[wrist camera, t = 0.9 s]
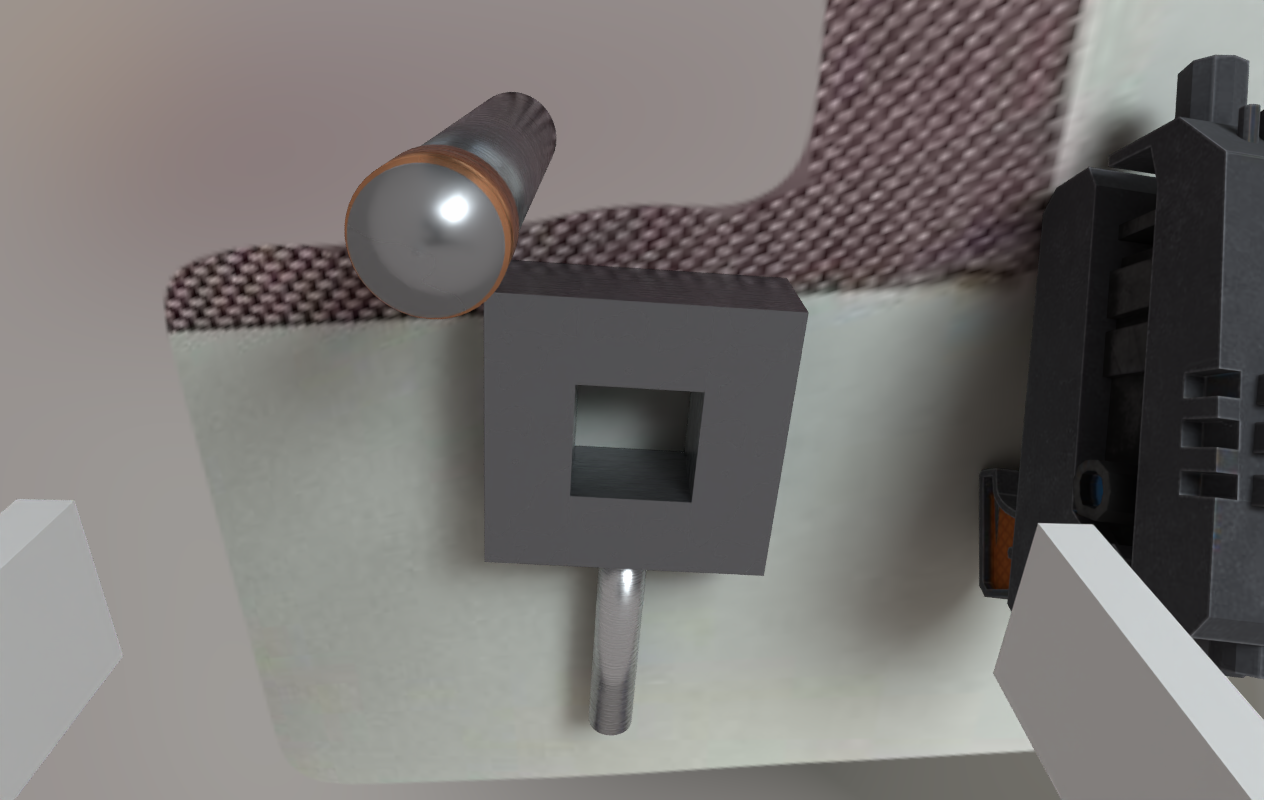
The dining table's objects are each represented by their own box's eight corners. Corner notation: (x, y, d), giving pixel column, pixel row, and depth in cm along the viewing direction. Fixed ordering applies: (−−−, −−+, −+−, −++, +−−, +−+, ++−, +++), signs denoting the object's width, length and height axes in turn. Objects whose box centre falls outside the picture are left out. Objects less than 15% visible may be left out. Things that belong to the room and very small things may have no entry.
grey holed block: (499, 259, 31) (483, 291, 28) (786, 278, 32) (808, 312, 28) (497, 681, 40) (485, 747, 37) (722, 691, 41) (732, 757, 37)
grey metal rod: (468, 85, 29) (335, 152, 15) (560, 92, 29) (510, 165, 15) (469, 179, 30) (347, 317, 17) (557, 185, 30) (507, 327, 17)
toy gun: (929, 608, 35) (1200, 712, 20) (967, 170, 37) (1243, -29, 22) (1066, 623, 36) (1429, 736, 21) (1097, 190, 37) (1454, 8, 22)
